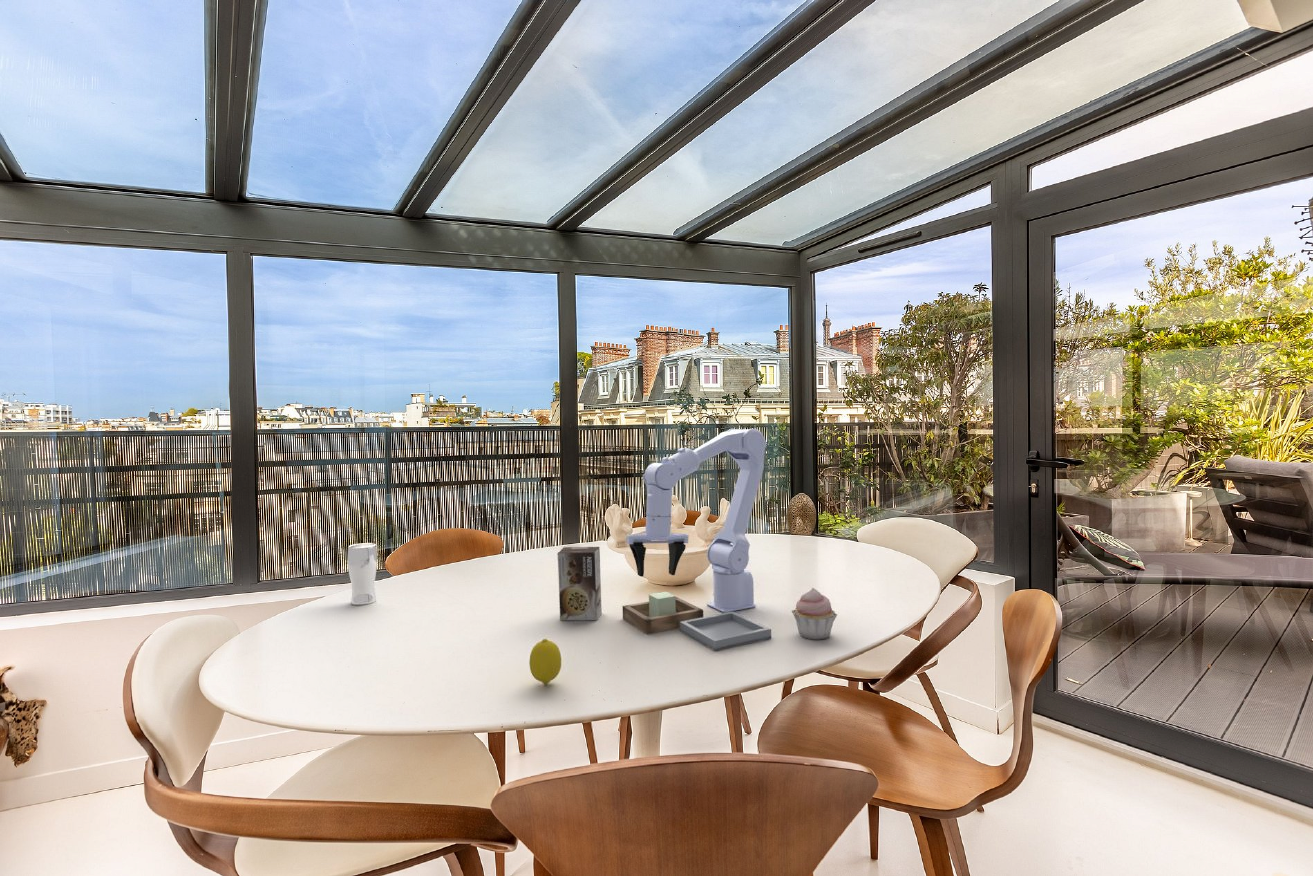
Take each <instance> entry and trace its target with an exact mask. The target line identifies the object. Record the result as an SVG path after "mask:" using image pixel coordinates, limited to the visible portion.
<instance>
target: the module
mask: <svg viewBox="0 0 1313 876" xmlns="http://www.w3.org/2000/svg"><path fill="white" fill-rule="evenodd" d="M675 597H676V596H675V595H674V594H672V593H670V592H668V591H663V592H656V593H655V592H654V593H650V594H649V593H648V602H649V616H648V618H652V617H657V616H662V615H668V614H673V613H677V612H676V606H675Z"/></svg>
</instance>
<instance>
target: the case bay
mask: <svg viewBox="0 0 1313 876" xmlns="http://www.w3.org/2000/svg"><path fill="white" fill-rule="evenodd" d="M675 606H676V613H673V614H668V615H662V616H657V617H652V618H649V601H644V602H639V603H638V602H637V603H632V604H627V605H622V619H623V620H624V621H626V622H628V623H629V624H631V625H632V626H633V627H635V628H636V629H638V630H640V631H641V632H643V633H644V634H646V635H649V634H654V633H659V632H663V631H664V632H665V631H669V630H674V629H680V622H681V621H686V620H691V619H696V618H701V617H704V609H702V608H701V607H699V606H696V605H695V604H692V603H690V602H688V601H685V600H684V599H682V598H679V597H677V596H675Z"/></svg>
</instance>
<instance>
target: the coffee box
mask: <svg viewBox="0 0 1313 876" xmlns="http://www.w3.org/2000/svg"><path fill="white" fill-rule="evenodd" d="M600 551H601V550H600V546H566V547H565V546H563V548H561V549H560V551H558V552H557V555H556V556H557V569H558V570H557V571H558V592H559V593H558V595H559V597H558V598H559V601H558V602H559V621H597V620H598V619H599V618H600V616H601V614H602V613H603V612H602V584H601V583H602V582H601V557H600V556H601V555H600V554H601V553H600Z"/></svg>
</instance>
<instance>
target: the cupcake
mask: <svg viewBox="0 0 1313 876" xmlns="http://www.w3.org/2000/svg"><path fill="white" fill-rule="evenodd" d="M835 612H836V611H835V610H833V608H832V604H831V602H830V599H829V598H828V597H827V596H825V595H824V594H822V593H821V592H820V591H818V590H817V589H815V588H814V587H811V589H810V590H809V591H807V592H804V594H802V595H801V596H800V599H799V600H797V602H796V604H795V609H793V610H791V613H792V615H793V617H794V619H795V623H796V626H797V627H796V628H797V630H798V634H799V635H800V636H801V637H802V638H805V639H807V640H808V639H809V640H825V639H828V638H830V636H831V633H832V629H833V626H834V625H833V624H834V621H835V620H836V618H837V616H838V613H835Z"/></svg>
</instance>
